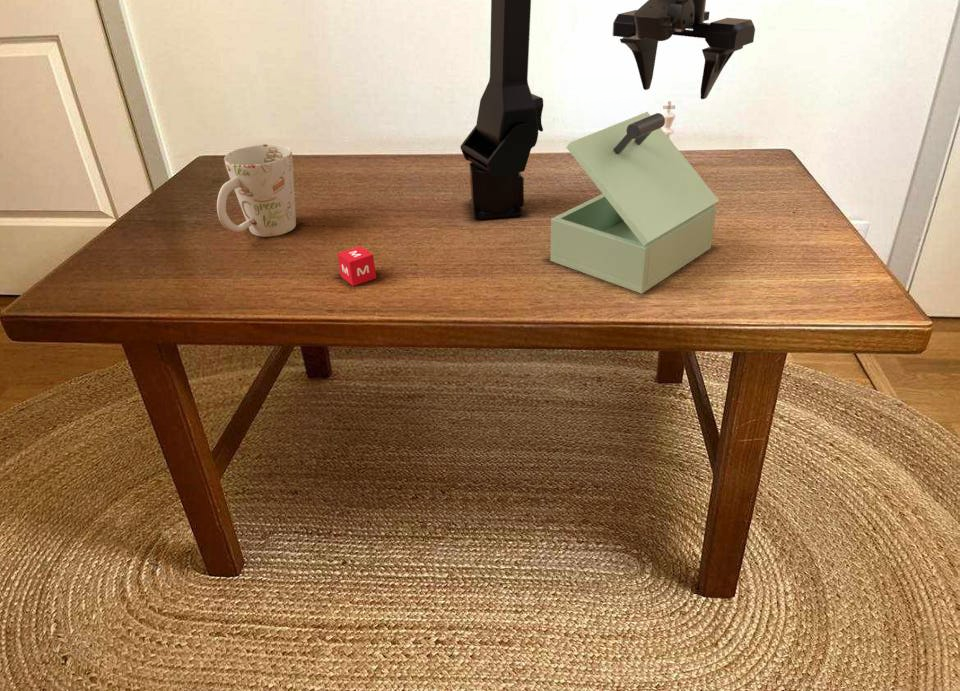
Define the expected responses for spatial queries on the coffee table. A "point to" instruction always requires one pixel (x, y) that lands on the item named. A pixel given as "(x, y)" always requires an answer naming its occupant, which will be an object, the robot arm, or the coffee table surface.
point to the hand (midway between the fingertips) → (674, 93)
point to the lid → (643, 176)
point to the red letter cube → (356, 265)
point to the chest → (624, 245)
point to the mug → (260, 189)
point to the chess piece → (668, 119)
